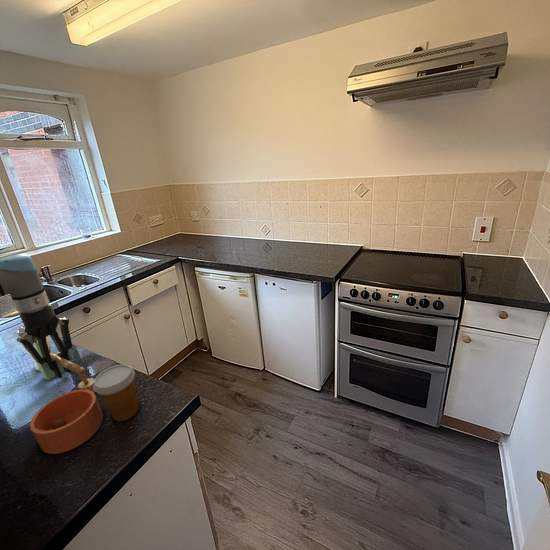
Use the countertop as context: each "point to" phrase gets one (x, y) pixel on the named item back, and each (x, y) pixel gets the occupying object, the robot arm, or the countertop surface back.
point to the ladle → (86, 383)
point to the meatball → (58, 423)
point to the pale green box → (48, 373)
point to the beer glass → (34, 342)
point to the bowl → (67, 421)
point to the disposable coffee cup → (118, 391)
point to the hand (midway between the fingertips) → (63, 373)
